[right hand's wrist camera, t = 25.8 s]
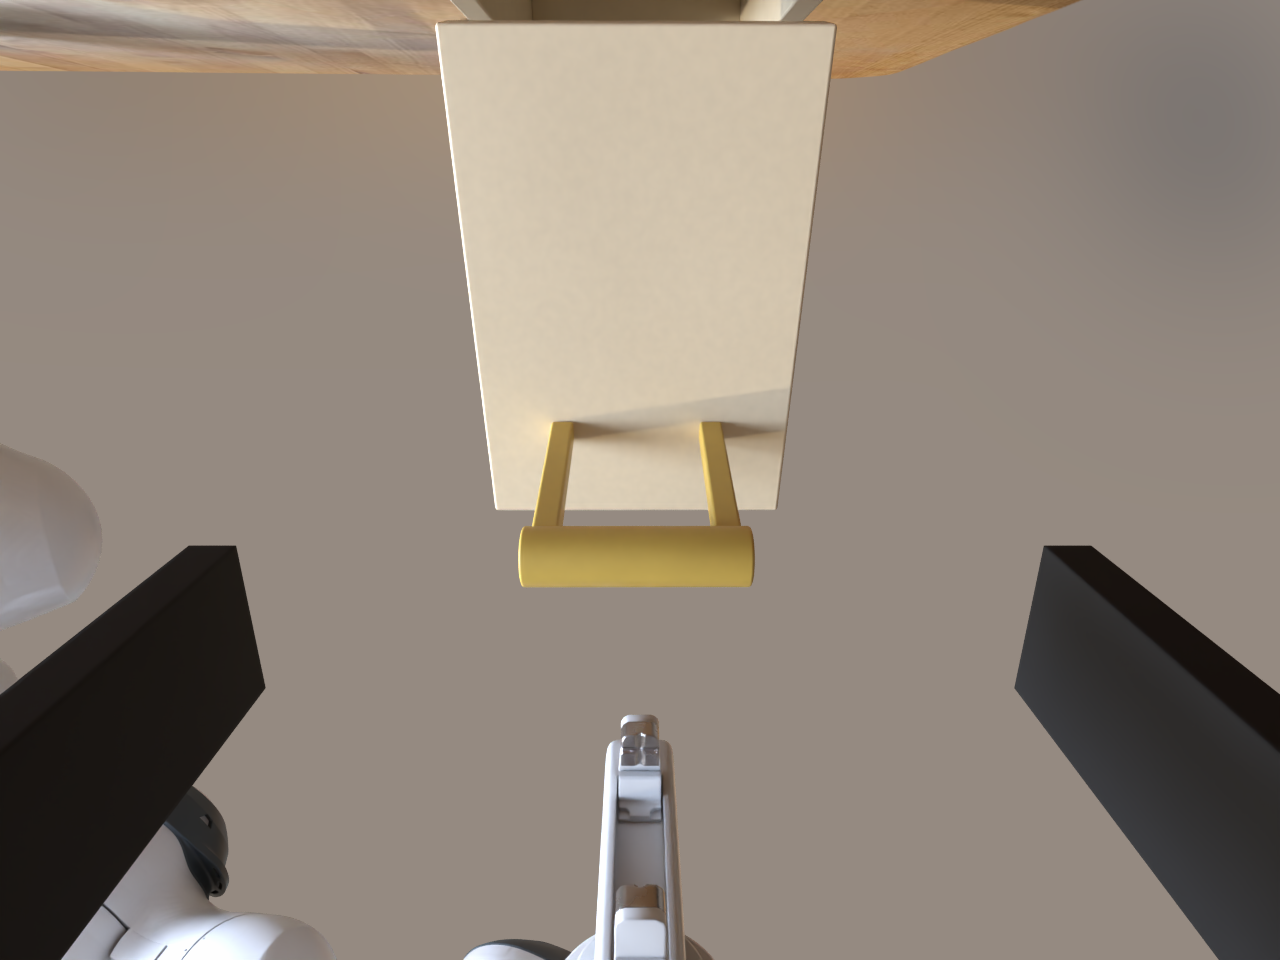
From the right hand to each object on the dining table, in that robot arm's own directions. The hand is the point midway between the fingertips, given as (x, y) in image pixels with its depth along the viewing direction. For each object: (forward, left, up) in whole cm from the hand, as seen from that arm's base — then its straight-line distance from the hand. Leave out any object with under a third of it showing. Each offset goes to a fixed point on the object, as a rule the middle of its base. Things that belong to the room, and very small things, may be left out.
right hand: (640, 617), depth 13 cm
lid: (+4, -12, -4) cm, 13 cm away
